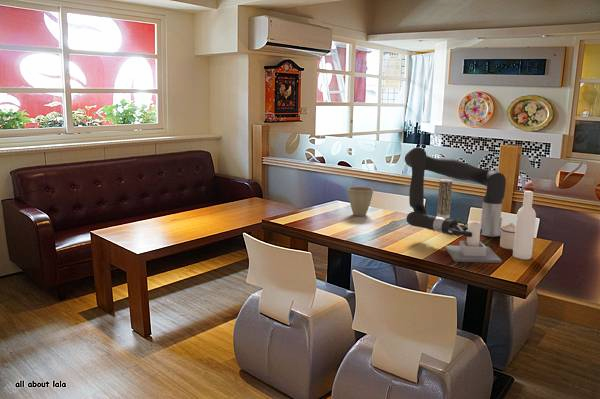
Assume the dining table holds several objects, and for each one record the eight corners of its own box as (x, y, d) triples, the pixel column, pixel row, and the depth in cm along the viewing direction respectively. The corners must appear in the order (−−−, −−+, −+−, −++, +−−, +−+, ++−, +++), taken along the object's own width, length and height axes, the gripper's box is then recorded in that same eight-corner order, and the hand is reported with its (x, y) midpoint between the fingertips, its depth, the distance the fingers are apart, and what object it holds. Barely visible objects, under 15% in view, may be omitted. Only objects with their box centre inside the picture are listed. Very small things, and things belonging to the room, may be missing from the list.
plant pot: (373, 217, 293) (374, 191, 290) (348, 217, 293) (349, 191, 290) (370, 212, 308) (371, 186, 304) (346, 211, 308) (347, 186, 304)
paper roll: (476, 250, 229) (479, 220, 226) (479, 254, 224) (482, 223, 221) (464, 250, 229) (467, 220, 226) (467, 254, 224) (470, 223, 221)
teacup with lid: (516, 251, 233) (519, 226, 231) (496, 247, 238) (499, 223, 236) (523, 245, 243) (525, 221, 240) (503, 241, 248) (505, 218, 245)
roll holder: (488, 249, 236) (489, 238, 234) (501, 263, 216) (502, 251, 215) (445, 247, 237) (445, 237, 236) (454, 261, 218) (455, 250, 216)
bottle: (526, 253, 229) (533, 189, 223) (534, 259, 221) (542, 193, 215) (509, 253, 229) (515, 189, 222) (517, 259, 221) (524, 193, 215)
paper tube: (449, 225, 277) (452, 181, 272) (436, 224, 279) (439, 180, 274) (448, 222, 284) (451, 179, 279) (436, 221, 285) (439, 178, 280)
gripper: (437, 220, 230) (468, 227, 218) (454, 215, 239) (485, 222, 227) (436, 236, 232) (467, 244, 220) (453, 231, 241) (484, 238, 229)
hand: (476, 233), depth 223 cm, fingers open, 8 cm apart
